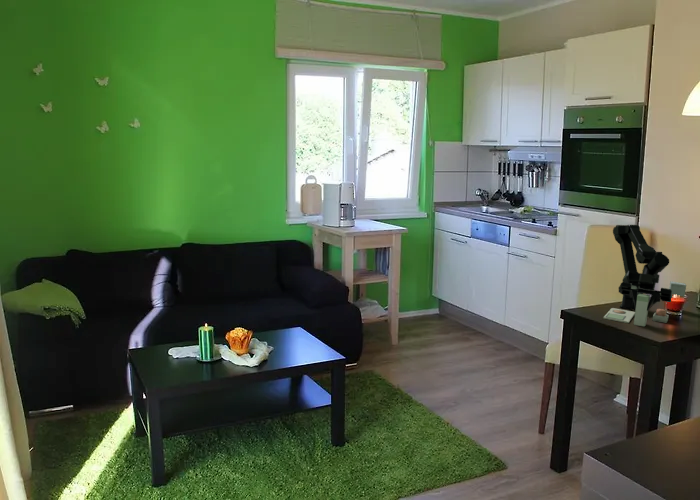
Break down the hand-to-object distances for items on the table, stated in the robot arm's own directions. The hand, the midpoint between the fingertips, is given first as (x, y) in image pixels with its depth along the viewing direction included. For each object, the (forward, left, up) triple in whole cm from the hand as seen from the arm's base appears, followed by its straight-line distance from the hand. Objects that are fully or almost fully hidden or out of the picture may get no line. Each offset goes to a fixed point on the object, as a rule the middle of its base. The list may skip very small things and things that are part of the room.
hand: (641, 309), depth 244 cm
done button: (-13, +6, -4) cm, 15 cm away
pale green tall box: (-1, 0, -7) cm, 7 cm away
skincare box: (-35, +9, -7) cm, 37 cm away
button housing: (-13, +6, -7) cm, 16 cm away
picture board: (-9, -9, -7) cm, 14 cm away
